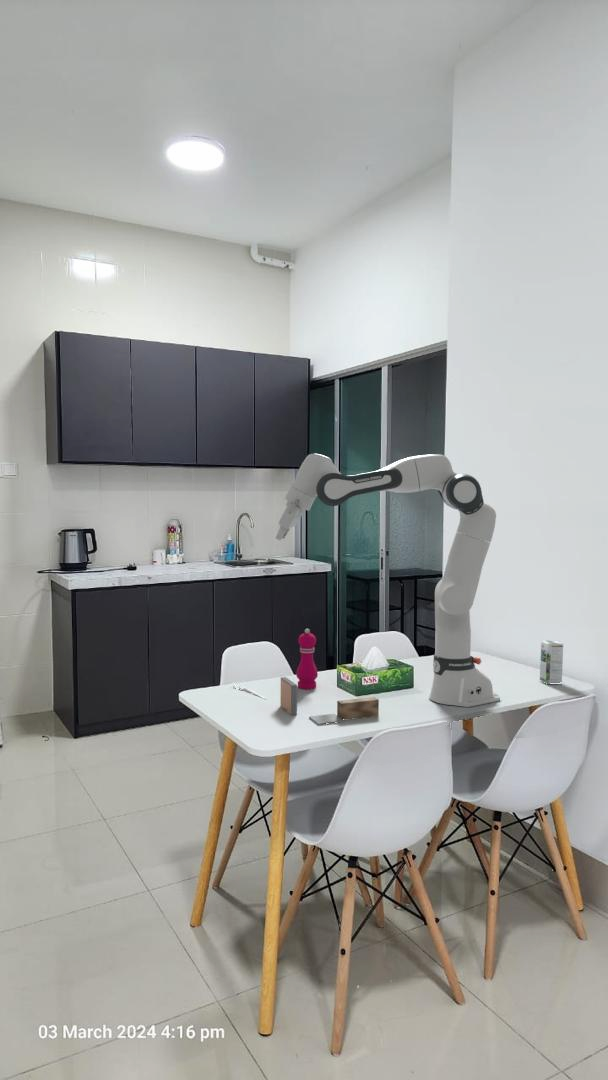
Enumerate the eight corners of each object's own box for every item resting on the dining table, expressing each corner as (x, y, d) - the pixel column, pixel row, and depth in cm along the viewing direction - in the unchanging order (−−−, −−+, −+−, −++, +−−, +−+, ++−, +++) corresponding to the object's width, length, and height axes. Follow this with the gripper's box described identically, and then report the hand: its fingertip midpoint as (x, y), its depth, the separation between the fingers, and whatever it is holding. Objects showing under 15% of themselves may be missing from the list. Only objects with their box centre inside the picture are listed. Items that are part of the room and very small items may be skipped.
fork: (262, 702, 232) (262, 696, 232) (230, 687, 248) (230, 682, 248) (271, 701, 234) (271, 695, 234) (239, 686, 250) (239, 680, 250)
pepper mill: (317, 689, 245) (318, 630, 243) (296, 689, 245) (296, 630, 243) (317, 684, 252) (317, 626, 251) (296, 684, 252) (296, 626, 251)
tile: (285, 705, 226) (285, 677, 226) (296, 714, 217) (297, 684, 217) (280, 706, 226) (280, 677, 225) (291, 715, 217) (291, 685, 216)
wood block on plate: (370, 711, 221) (371, 695, 221) (381, 718, 214) (381, 701, 214) (309, 718, 214) (309, 701, 213) (318, 725, 207) (318, 708, 207)
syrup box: (538, 681, 258) (540, 640, 257) (554, 680, 259) (555, 639, 258) (546, 685, 252) (547, 643, 251) (562, 684, 253) (563, 643, 252)
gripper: (305, 504, 223) (285, 545, 225) (310, 504, 244) (291, 541, 245) (286, 495, 224) (266, 535, 225) (293, 495, 244) (275, 532, 245)
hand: (279, 538), depth 235 cm, fingers open, 8 cm apart
